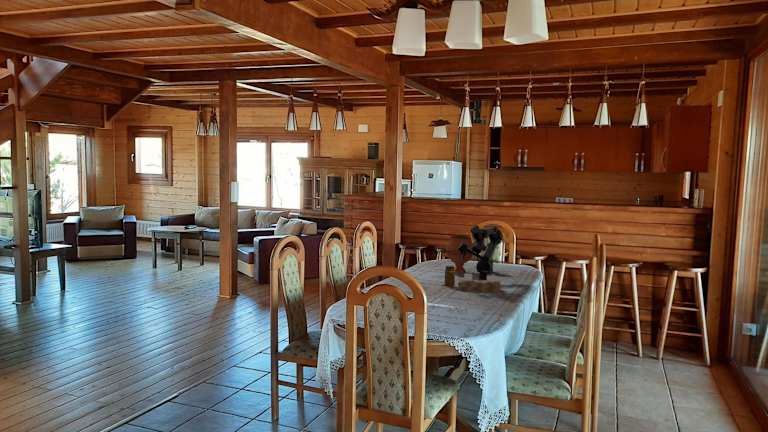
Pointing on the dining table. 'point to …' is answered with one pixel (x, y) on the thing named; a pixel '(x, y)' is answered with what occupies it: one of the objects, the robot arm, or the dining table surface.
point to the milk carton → (484, 254)
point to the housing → (479, 286)
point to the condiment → (449, 277)
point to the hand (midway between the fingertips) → (469, 264)
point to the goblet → (454, 252)
